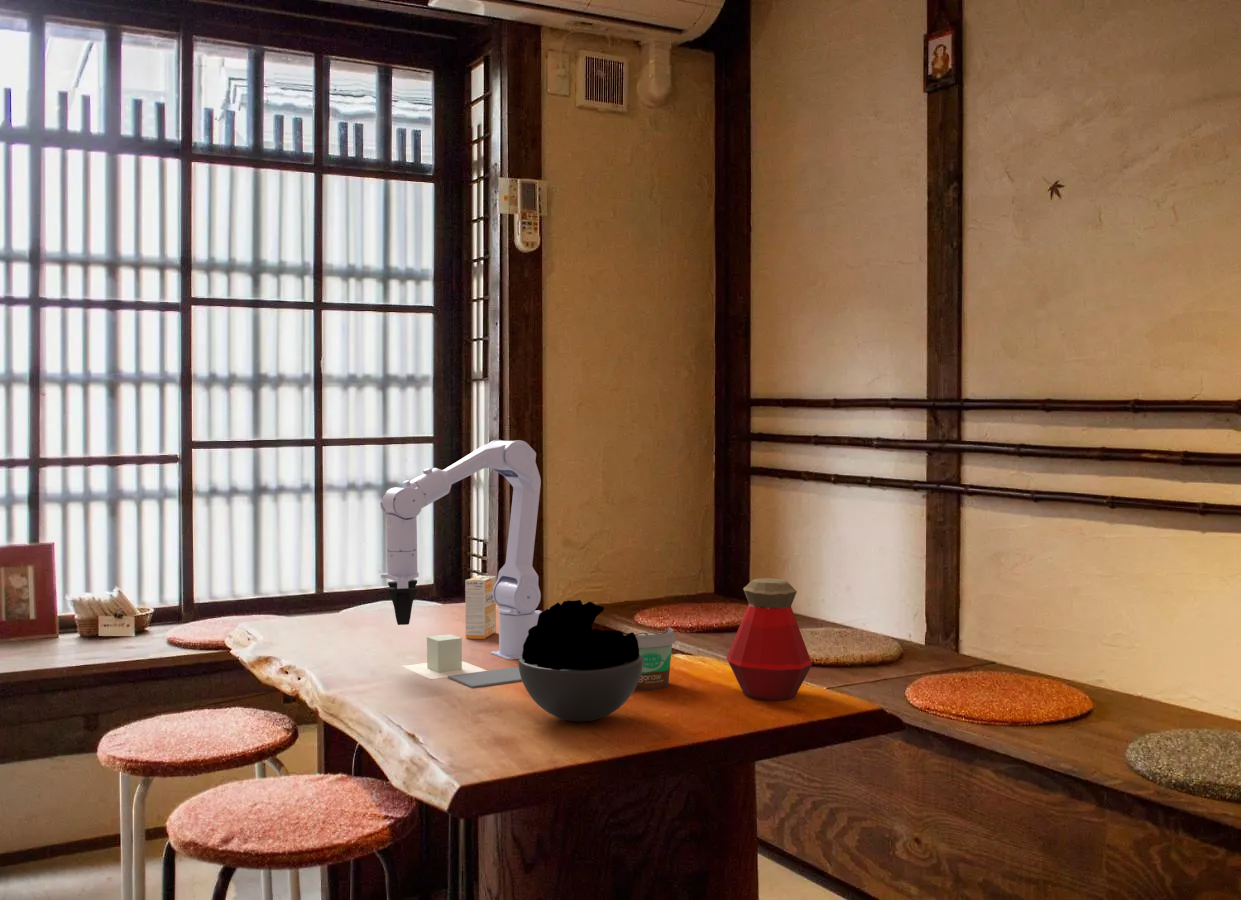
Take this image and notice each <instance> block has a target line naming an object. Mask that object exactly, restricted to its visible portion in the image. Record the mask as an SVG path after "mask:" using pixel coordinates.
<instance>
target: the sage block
mask: <svg viewBox="0 0 1241 900" xmlns="http://www.w3.org/2000/svg"><path fill="white" fill-rule="evenodd" d="M462 644H463V639H462V637H459V636H457V635H454V634H452V633H451V634H450V633H449V634H441V635H434V636H433V635H432V636H431V635H430V636H426V663H427V668H429V669H431V670H434V671H436V672H444V671H452V670H459V669H462V661H463V658H462V657H463V645H462Z"/></svg>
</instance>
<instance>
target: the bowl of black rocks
mask: <svg viewBox="0 0 1241 900" xmlns="http://www.w3.org/2000/svg"><path fill="white" fill-rule="evenodd" d="M604 610H605V607H604V606H601V605H596V604H595V602H592V601H588V602H586V603H584V604H583V602H582V600H580V599H576V600H564V601H563V602H562V603H561V604H560V602H557V603H555V604H553V605H551V606H550V607H549V609H548V608H547V609H544V611H542V612H541V613H540V614H539V617H538V622H537V625H536V626H533V627H532V628H530V629H529V630H528V634H529V635H528V636H527V638H526V640H525V642H524V645H523V653H522V656H520V657H519V659H517V664H518V665H517V666H518V668H519V672H520V676H521V679H522V681H521V682H522V684H523V686H524V688H525V691H526V692H527V693H528V695H529V696H530V698H531V699H532V700H533V701H534V702H535V703H536V704H537V705H538V706H539V707H540V708H541V709H542V710H544V711H545V712H547V713H548V714H550V715H551V716H554V717H556V718H559V719H561V720H564V721H569V722H578V723H580V722H581V723H583V722H591V721H596V720H599V719H602V718H605V717H607V716H610V715H611V714H613V713H614V712H616V711H617V710H619V709H620V708H621V707H622V706H623V705H624V704H626V702H627V701H628V700H629V698H630V697H631V696H632V695H633V694H634V692H635V688H636V686H637V684H638V681H639V679H640V676H641V672H642V667H643V657H642V656H641V655H640V654H639V646H638V640H637V638H636V636H635V633H634V632H633V631H632V632H629V633H628V634H625V635H623V634H624V633H623V632H622V631H620V630H610V629H605V630H603V629H600V628H593V627H592V626H593V624H594V623H595V620H596V618H597V617H598V616H599V615H600V614H601V613H603V612H604Z"/></svg>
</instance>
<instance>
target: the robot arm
mask: <svg viewBox="0 0 1241 900" xmlns="http://www.w3.org/2000/svg"><path fill="white" fill-rule="evenodd" d="M536 458H537V452H536V451H535V450H534V449H533V448H532V447H531V446H530V444H529V443H528V442H526V441H524V440H520V439H518V440H503V439H502V440H501V439H494V440H492V441H490V442H489V443H485V444H483V445H481V446H480V447H478V448H477V449H475V450H473V451H472V452H470V453H469V454H467V455H465V456H464V457H462V458H461V459H459V460H457V461H456V462H454V463H452V464H451V465H449V466H447V467H446V468H444V469H440V468H437V467H432V468H430V467H427V468H425V469H423V470H422V474H421V475H419V476H416V477H414V478H413V479H411V480H408V479H407V480H405V481H403V482H402V487H392V488H389V489H388V490H386V492H385V494H384V495H383V497H382V501H380V503H379V504H380V508H381V510H382V512H383V513H384V514H385V517H386V518H385V521H386V528H385V529H386V567H387V568H386V572H383V573H382V572H381V574H380V578H381V579H387V580H392V581H388V582H387V585H388V587H387V593H388V595H389V597H390V598H391V601H392V604H393V608H394V615H395V619H396V620H395V621H396V623H397V625H398V626H403V625H404V626H405V625H406V626H407V625H410V623H411V616H412V608H413V604H414V600H415V597H416V595H417V593H418V591H419V588H418V587H417V584H418V580H417V579H416V578H419V571H418V528H417V527H418V524H417V523H418V520H417V519H418V518H417V516H419V515H420V513H421V512H422V509H424V508H425V507H427V506H428V505H430V504H432V503H434V502H436V501H437V500H440V499H441V498H443V497H445V496H446V495H448V494H449V493H450V492H451V488H452V485H454V484H456V483H457V482H459V481H461V480H464V479H466V478H467V477H469V476H471V475H474V474H475V473H478V472H479V471H481V470H484V469H491V470H492V471H494V472H495V473H497V474H499V475H501V476H503V477H504V478H505V479H506V480H507V482H508V483H509V484H510V485H511V486H512V489H513V491H512V500H511V501H512V502H511V510H510V517H509V518H510V519H509V526H508V528H509V529H508V538H507V547H506V548H507V549H506V554H505V555H506V557H505V563H504V564H503V566H502V567H501V568H500V569H499V571H498V575H497V578H496V583H495V585H494V587H493V592H492V594H493V599H494V601H495V603H496V606H497V607H498V608H497V609H498V610H497V611H498V648H499V649H498V650H492V651H491V654H492V655H494V656H496V657H500V658H502V659H505V660H506V661H512V660H518V659H519V657H520V656H522V653H523V645H524V642H525V640H526V638H527V636H528V635H529V634H528V630H529V629H530V628H532V627H533V626H536V625H537V622H538V617H539V614H540V613H541V612H543V611H542V610H539V609H538V610H536V609H537V608H538V606H539V604H540V603H541V598H542V597H541V596H542V594H541V589H540V586H539V575H538V573H537V572H536V570H535V569H534V567H533V561H534V554H535V553H534V552H535V543H536V542H535V541H536V532H537V524H538V523H537V521H538V513H539V503H540V493H541V484H542V483H541V482H542V480H541V475H540V472H539V469H538V465H537V462H536Z"/></svg>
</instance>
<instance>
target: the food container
mask: <svg viewBox="0 0 1241 900" xmlns="http://www.w3.org/2000/svg"><path fill="white" fill-rule="evenodd" d="M623 635H626V634H624V633H623ZM634 635H635V636H636V638H637V640H638V646H639V654H640V655H641V656H642V657H643V667H642V672H641V676H640V679H639V681H638V684H637V686H636V688H635V690H636V691H637V692H639V691H640V692H644V691H645V692H650V691H651V692H652V691H659V690H663V689H666V688H668V687H669V682H670V671H671V670H670V669H671V660H672V647H673V644H675V643H676V641H677V640H676V635H675V632H674V629H673V628H671V627H670V626H669V627H668V629H667V631H663V632H655V633H654V632H638V633H636V634H635V633H634ZM635 690H634V691H635Z"/></svg>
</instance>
